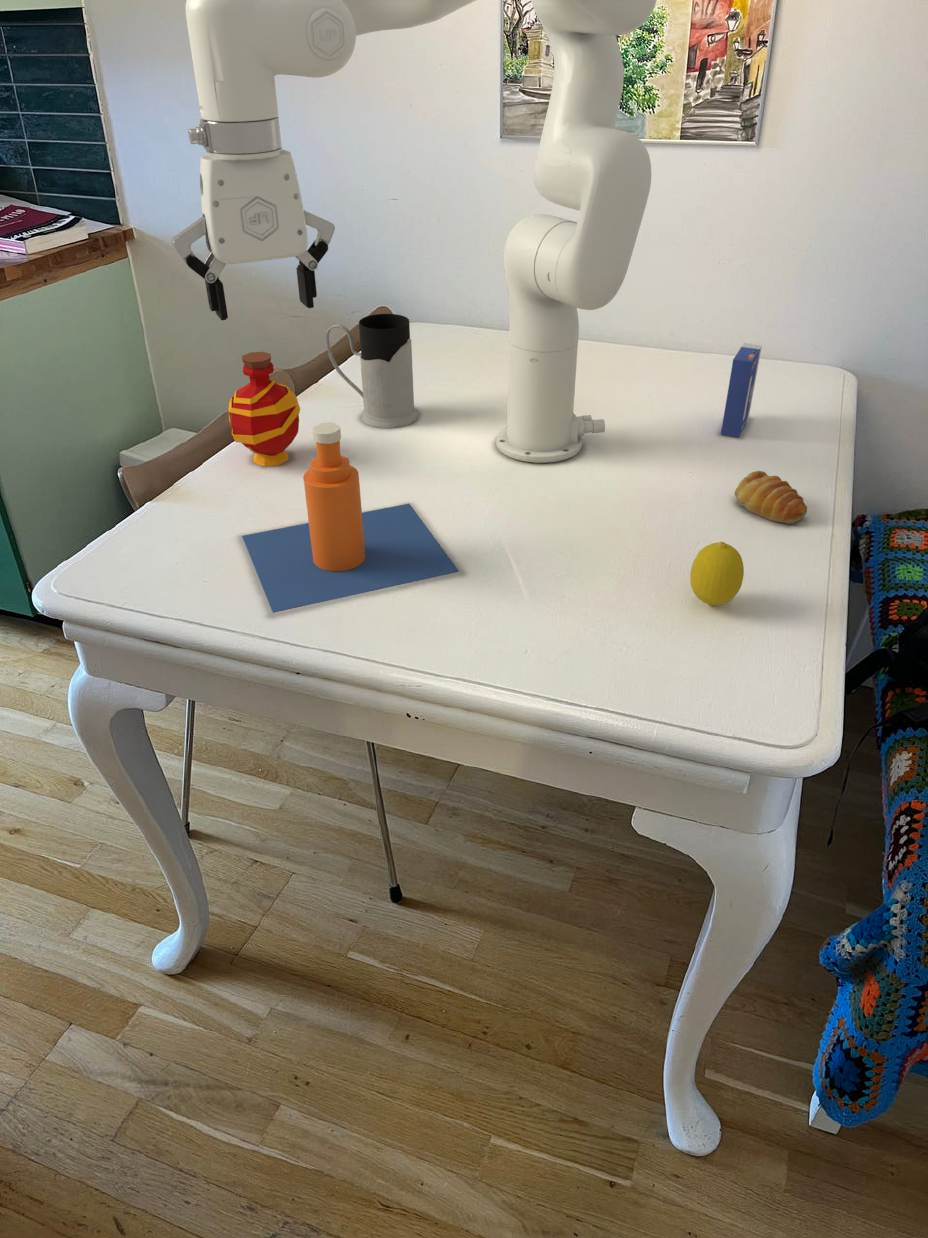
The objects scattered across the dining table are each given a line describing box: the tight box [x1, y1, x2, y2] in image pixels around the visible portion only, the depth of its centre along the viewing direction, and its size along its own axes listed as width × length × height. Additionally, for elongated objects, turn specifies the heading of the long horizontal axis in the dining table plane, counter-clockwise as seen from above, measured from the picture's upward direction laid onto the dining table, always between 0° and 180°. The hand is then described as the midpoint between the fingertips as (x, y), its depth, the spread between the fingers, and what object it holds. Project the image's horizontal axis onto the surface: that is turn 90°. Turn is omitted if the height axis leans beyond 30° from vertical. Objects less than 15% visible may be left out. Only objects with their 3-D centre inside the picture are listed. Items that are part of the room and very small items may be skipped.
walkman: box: [720, 342, 762, 439], centre depth 138 cm, size 8×3×12 cm, turn 155°
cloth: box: [241, 503, 460, 613], centre depth 111 cm, size 22×18×1 cm
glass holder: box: [325, 313, 418, 429], centre depth 142 cm, size 9×14×15 cm, turn 71°
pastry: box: [734, 470, 808, 524], centre depth 119 cm, size 9×7×4 cm
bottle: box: [302, 422, 365, 572], centre depth 105 cm, size 6×6×17 cm
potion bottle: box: [227, 351, 302, 467], centre depth 129 cm, size 10×10×15 cm
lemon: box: [689, 541, 745, 607], centre depth 100 cm, size 6×6×8 cm
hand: (265, 310), depth 102 cm, fingers open, 9 cm apart
